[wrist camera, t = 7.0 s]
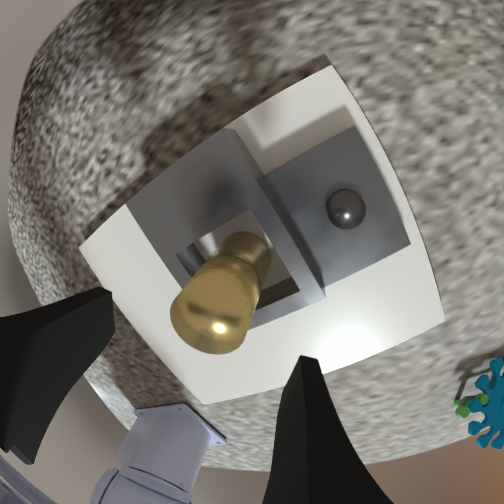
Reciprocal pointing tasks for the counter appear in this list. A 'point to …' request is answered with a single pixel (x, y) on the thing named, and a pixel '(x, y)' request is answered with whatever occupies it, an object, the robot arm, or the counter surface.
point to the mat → (277, 266)
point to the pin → (222, 295)
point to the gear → (486, 407)
